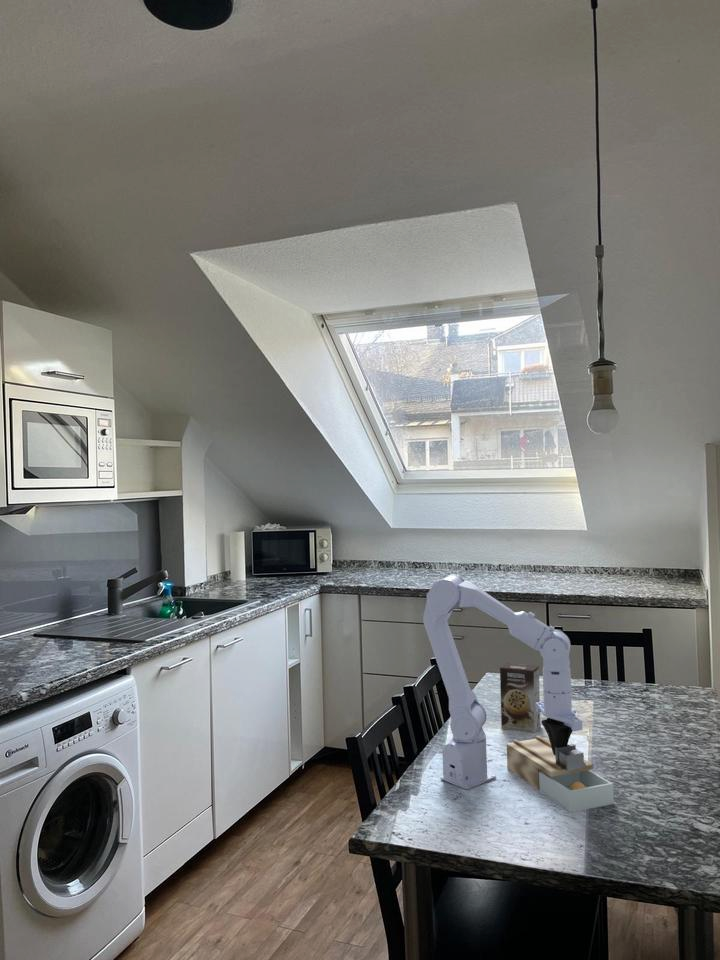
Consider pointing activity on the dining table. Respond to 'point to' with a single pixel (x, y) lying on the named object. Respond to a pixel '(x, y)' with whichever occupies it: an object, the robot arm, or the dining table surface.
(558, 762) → the brushed steel stepped cube
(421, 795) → the dining table surface
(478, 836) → the dining table surface
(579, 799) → the open box
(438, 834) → the dining table surface
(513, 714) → the coffee box
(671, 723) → the dining table surface
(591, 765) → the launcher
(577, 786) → the ball
